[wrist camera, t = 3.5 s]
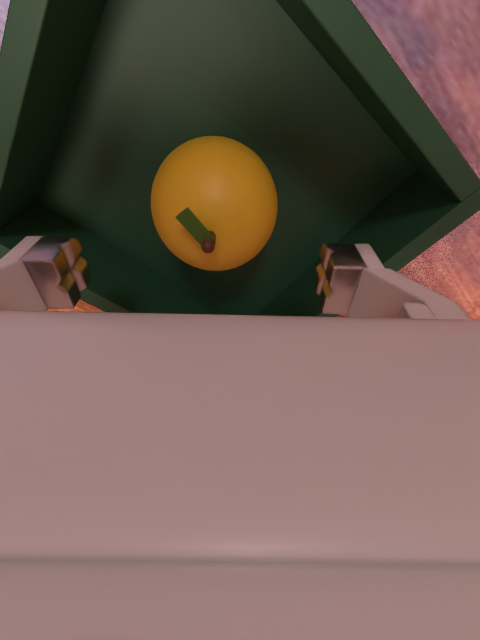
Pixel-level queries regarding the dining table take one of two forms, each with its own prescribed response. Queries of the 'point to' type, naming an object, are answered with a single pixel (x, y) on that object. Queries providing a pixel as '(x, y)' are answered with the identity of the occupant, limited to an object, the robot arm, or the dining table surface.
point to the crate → (217, 120)
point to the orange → (214, 203)
